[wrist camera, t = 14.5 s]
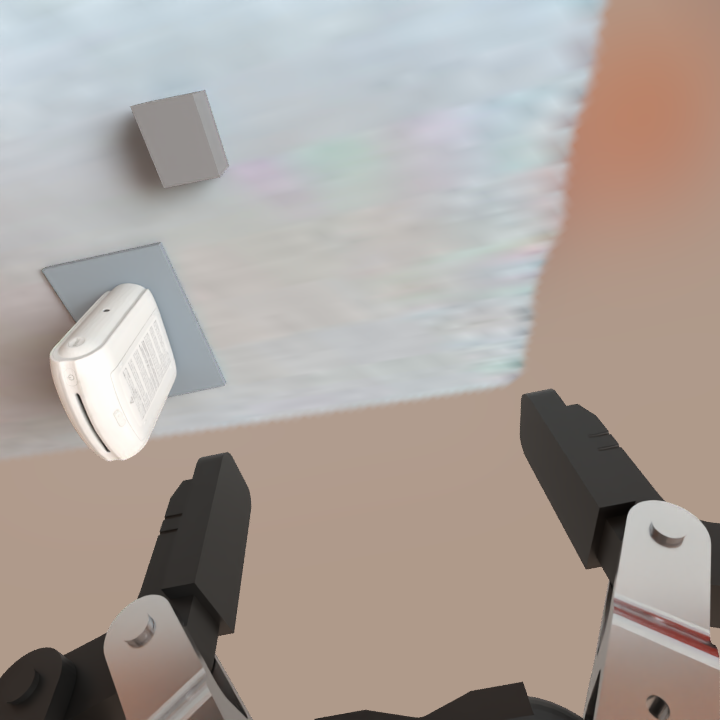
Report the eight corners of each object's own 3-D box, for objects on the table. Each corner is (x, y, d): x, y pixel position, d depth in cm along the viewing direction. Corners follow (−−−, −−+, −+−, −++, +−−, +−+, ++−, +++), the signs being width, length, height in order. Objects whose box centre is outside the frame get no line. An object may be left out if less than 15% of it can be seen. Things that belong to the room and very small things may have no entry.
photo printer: (100, 282, 37) (19, 366, 27) (152, 279, 37) (91, 361, 27) (139, 379, 43) (85, 478, 33) (183, 375, 43) (143, 473, 33)
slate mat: (45, 267, 36) (41, 270, 36) (160, 242, 36) (158, 244, 36) (131, 401, 45) (129, 405, 44) (225, 382, 45) (224, 385, 44)
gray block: (150, 101, 31) (130, 106, 27) (205, 90, 31) (192, 93, 27) (178, 175, 33) (163, 188, 30) (229, 165, 33) (219, 177, 30)
